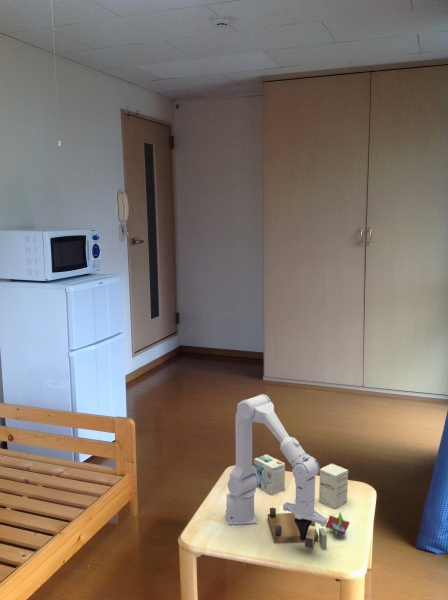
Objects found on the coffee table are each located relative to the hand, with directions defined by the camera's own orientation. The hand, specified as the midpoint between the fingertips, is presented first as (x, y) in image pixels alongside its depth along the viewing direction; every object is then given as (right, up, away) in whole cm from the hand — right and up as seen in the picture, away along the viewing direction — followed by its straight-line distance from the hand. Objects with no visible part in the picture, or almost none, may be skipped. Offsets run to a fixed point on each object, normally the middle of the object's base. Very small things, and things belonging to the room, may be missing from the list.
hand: (303, 539), depth 172 cm
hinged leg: (+2, -1, +2) cm, 3 cm away
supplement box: (+15, +1, +28) cm, 32 cm away
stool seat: (-2, -2, +11) cm, 11 cm away
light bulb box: (-7, +2, +40) cm, 40 cm away
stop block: (+6, -3, +2) cm, 7 cm away
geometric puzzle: (+12, -2, +8) cm, 15 cm away
